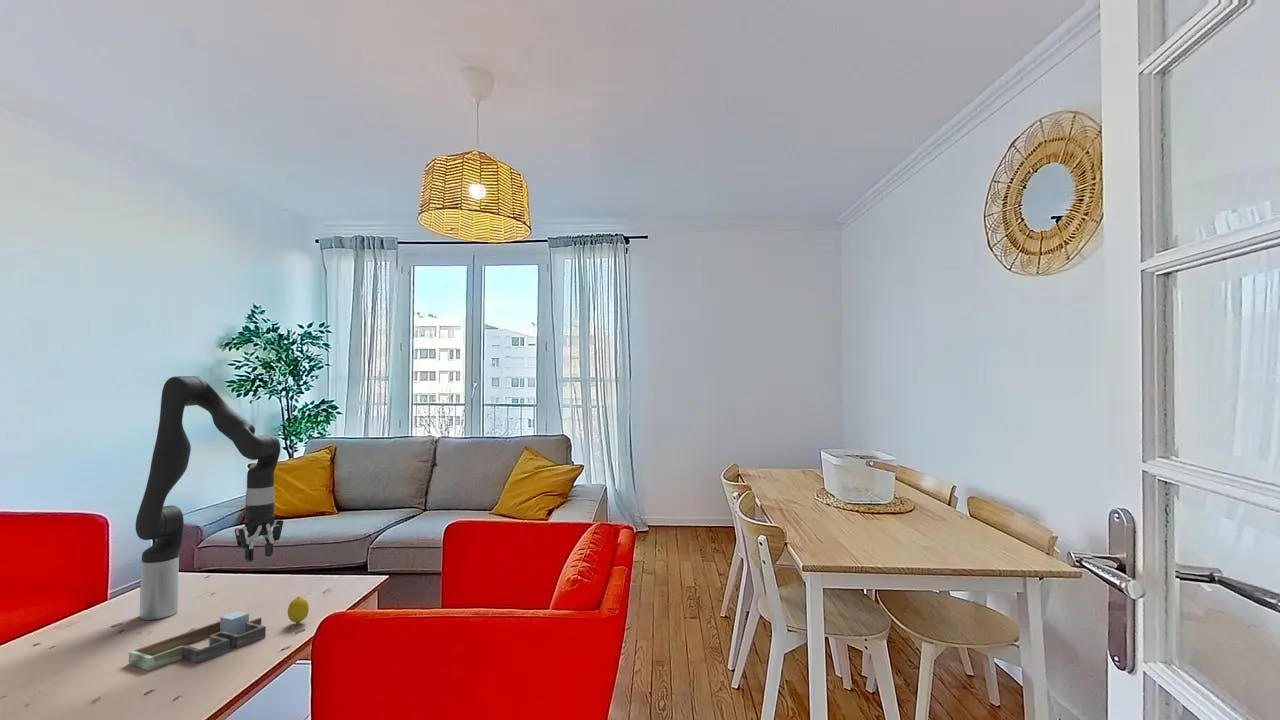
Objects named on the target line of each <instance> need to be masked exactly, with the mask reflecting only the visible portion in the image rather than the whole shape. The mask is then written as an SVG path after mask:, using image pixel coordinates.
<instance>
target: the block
mask: <svg viewBox="0 0 1280 720" xmlns="http://www.w3.org/2000/svg"><path fill="white" fill-rule="evenodd" d="M249 617H250V614H249V613H247V612H243V611H240V610H239V611H238V610H237V611H234V612H231V613H227V614H225V615H222V616H219V618H220V619H219V621H220V632H229V633H233V634H237V635H240V634H243V633H245V632H246V622H249V621H250V620H249V619H250V618H249Z"/></svg>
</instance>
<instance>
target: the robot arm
mask: <svg viewBox="0 0 1280 720" xmlns="http://www.w3.org/2000/svg"><path fill="white" fill-rule="evenodd" d="M160 398H161V400H160V413H159V422H158V426H157V427H158V428H157V433H156V434H157V435H156V438H155V439H156V440H155V445H154V447H153V452H152V457H151V463H150V468H149V474H148V478H147V483H146V487H145V490H144V492H143V493H144V494H143V497H142V500H141V503H140V506H139V509H138V512H137V515H136V519H135V525H134V526H135V533H136V535H137V537H138V538H139V539H140V540H143V541H149V540H155V539H156V541H155V542H154V543H153V544H152V545H151V546H149V547H148V548H147V549H145V550H144V551H143V552H142V553H141V577H140V580H141V581H140V586H139V587H140V588H139V589H140V590H139V591H140V593H139V616H140V617H139V618H140V619H141V620H143V621H144V620H145V621H149V620H151V621H152V620H158V619H164V618H168V617H170V616H173V615H175V614H177V613H178V610H179V609H178V607H179V605H178V604H179V570H180V569H179V568H180V567H179V566H180V565H179V563H180V561H179V560H180V550H181V549H182V545H183V536H184V535H183V534H184V520H185V519H184V514H183V512H182V510H181V508H180V507H179V506H178V505H173V504H171V505H170V504H169V505H165V502H166V499H167V497H168V495H169V493H170V492H171V490H172V489H173V488H174V486H175V485H177V483H178V481H180V479H181V478H182V477H183V476H184V474H185V473H186V471H187V469H188V466H189V462H190V457H191V451H192V449H191V448H192V447H191V443H190V439H189V437H188V435H187V433H186V431H185V429H184V426H183V418H184V417H183V416H184V411H185V408H186V407H187V406H188V407H189V406H190V407H191V406H193V407H194V406H198V407H200V408H202V409H204V410H206V412H208V413H209V414H210V415H211V418H212V422H213V424H214V426H215V427H216V429H217V430H218V431H219V432H220V433H221V434H223V436H225V437H227V438H228V439H229V440H230V441H232V443H233V445H234V446H235V448H236V449H237V450H238V453H239V454H240V455H242V456H243V457H244V458H246V459H247V460H252V461H256V460H257V463H256V464H255V465H254V466H253V467H251V468H249V469H248V470H247V474H246V492H245V507H244V509H245V510H244V511H245V512H244V513H245V514H244V516H245V524H244V526H242V527H240V528H239V527H237V528H235V529H234V535H235V539H236V542H237V548H239V549H240V548H241V549H244V559H245V560H246V562H250V563H251V562H253V561H254V551H255V549H254V546H255V543H256V541H257V540H258V537H259V538H260V537H261V536H262V538H263V540H264V541H265V543H264V556H265V557H272V555H273V553H274V543H275V542H277V541H279V540H280V539H281V535H282V530H283V527H284V520H283V519H275V518H274V516H275V506H276V505H275V498H276V497H275V495H276V493H275V472H276V468H277V464H278V462H279V457H280V454H281V442H280V440H279V439H278V437H277V436H275V435H274V434H263V435H255V433H256V428H255V426H254V424H252V423H251V422H250V421H249V420H247V419H246V418H245V417H244V416H242V415H241V414H240V413H238V412H237V411H235V410H234V408H232V407H231V406H230V405H229V404H228V403H227V402H226V401H225V400H224V398H223V397H222V396H221V395H220V394H219V392H217V391H216V389H215V388H214V387H213V386H212V385H211V384H210V383H209V382H208V380H206V379H205V378H204V377H201V376H195V375H188V376H187V375H186V376H185V375H184V376H183V375H181V376H179V375H177V376H171V377H169V378H168V379H167V380H166V381H165V383H164V384H163V387H162V390H161V397H160ZM164 505H165V506H164ZM272 527H273V528H272ZM271 528H272V529H271Z"/></svg>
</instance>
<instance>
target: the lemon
mask: <svg viewBox="0 0 1280 720" xmlns="http://www.w3.org/2000/svg"><path fill="white" fill-rule="evenodd" d="M309 610H310V609H309V601H308V600H307V599H306V598H304V597H301V596H297V597H296V598H294V599H292V600H291V601H290V603H289V605H288V608H287V616H288V619H289V620H290V621H291V622H293V623H295V624H297V625H298V624H301V622H302V621H304V620H306V618H307V616H308V614H309Z"/></svg>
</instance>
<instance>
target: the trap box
mask: <svg viewBox="0 0 1280 720" xmlns="http://www.w3.org/2000/svg"><path fill="white" fill-rule="evenodd" d="M266 631H267V629H266V625H262V618H261V617H257V618H255V619H251V620H249V622H246V632H244V633H241V634H238V635H237V634H233V633H229V632H220V620H218V621H216V622H213V623H211V624H207V625H204V626H201V627H198V628H196V629H192V630H190V631H187V632H186V631H185V632H184V633H180V634H178V635H175V636H173V637H169V638H166V639H164V640H160V641H157V642H155V643H151V644H149V645H146V646H143V647H139V648H137V649H134V650H131V651H129V653H128V665H130V666H134V667H137V668H140V669H143V670H146V671H151V670H152V671H153V670H155V669H158V668H160V667H162V666H165V665H167V664H171V663H174V662H176V661H178V660H186V661H189V662H193V663H195V664H200V663H202V662H206V661H208V660H211V659H213V658H216V657H218V656H221V655H224V654H226V653H228V652H231V651H230V649H231V648H235V649H239V648H241V647H243V646H244V647H245V646H247V645H249V644H252V643H254V642H256V641H260V640H262V639H265V638H266V637H267V636H266ZM206 638H208V640H209V641H208V643H209V645H208V646H205V647H203V648H197V647H193V646H189V644H193V643H195V642H198V641H201V640H204V639H206Z"/></svg>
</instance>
